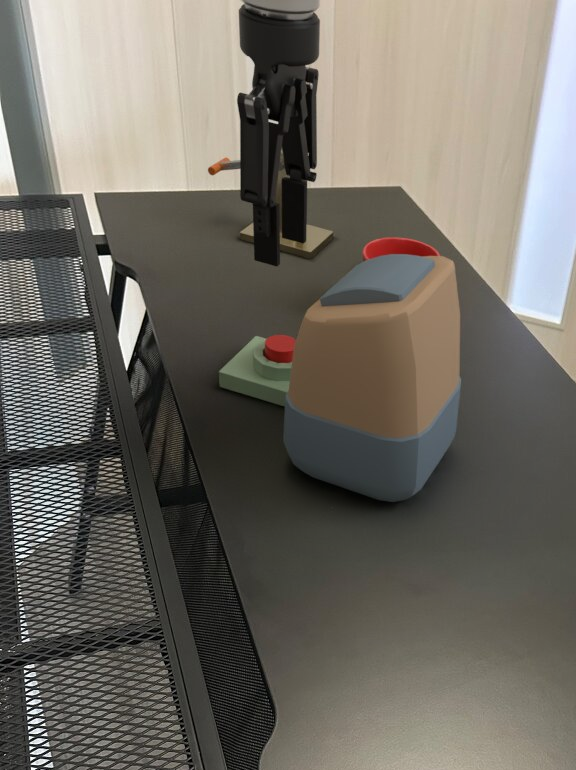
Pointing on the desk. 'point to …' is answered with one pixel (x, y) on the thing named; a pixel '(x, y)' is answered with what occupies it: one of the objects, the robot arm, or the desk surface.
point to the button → (279, 348)
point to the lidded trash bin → (377, 377)
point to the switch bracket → (309, 249)
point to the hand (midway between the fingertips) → (280, 250)
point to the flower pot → (397, 248)
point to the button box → (256, 374)
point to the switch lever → (224, 166)
